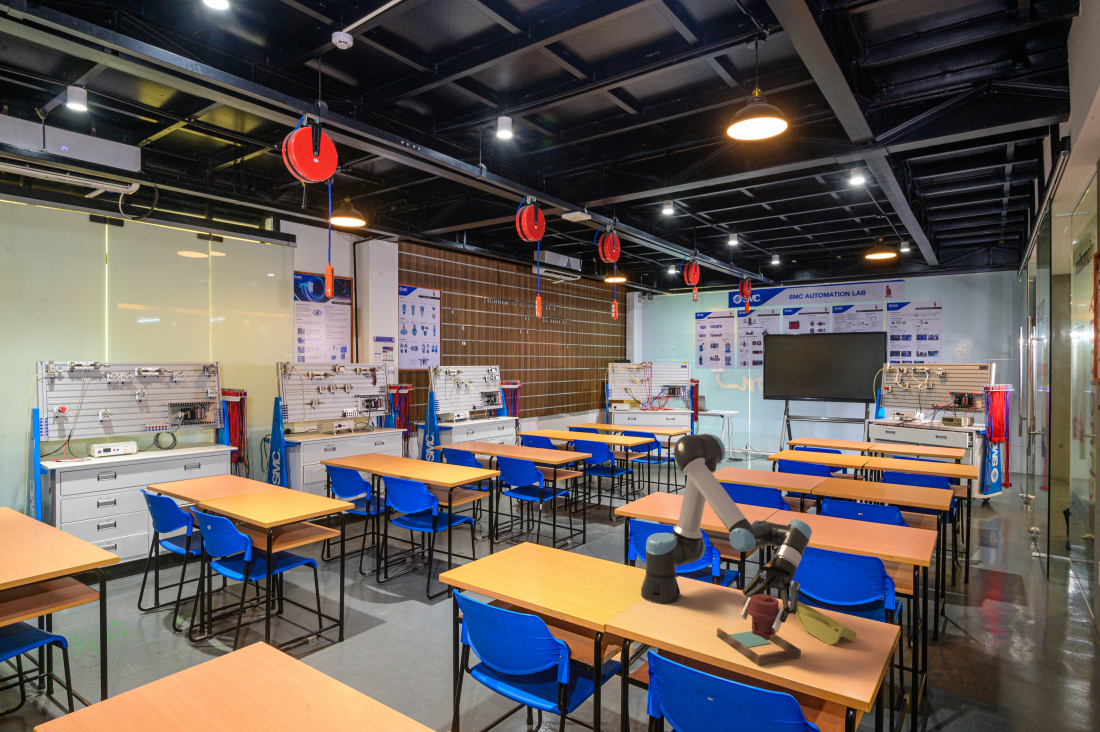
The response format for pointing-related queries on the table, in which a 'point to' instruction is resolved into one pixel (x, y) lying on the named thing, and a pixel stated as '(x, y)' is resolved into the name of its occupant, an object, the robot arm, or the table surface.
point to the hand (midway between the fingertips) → (758, 623)
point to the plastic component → (822, 625)
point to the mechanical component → (763, 614)
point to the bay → (750, 640)
